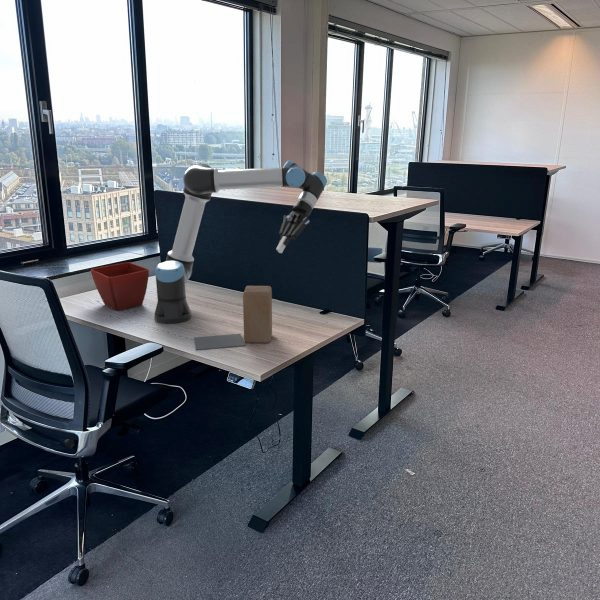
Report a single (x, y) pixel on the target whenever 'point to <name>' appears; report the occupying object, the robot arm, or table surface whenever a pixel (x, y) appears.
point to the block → (257, 314)
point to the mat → (218, 341)
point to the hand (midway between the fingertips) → (278, 251)
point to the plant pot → (121, 284)
